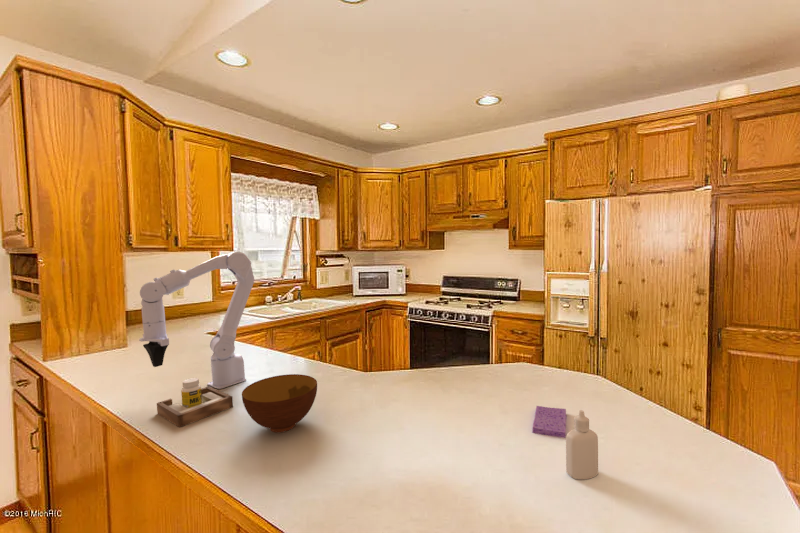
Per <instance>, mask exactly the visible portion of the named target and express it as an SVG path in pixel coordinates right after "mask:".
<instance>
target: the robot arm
mask: <svg viewBox="0 0 800 533" xmlns="http://www.w3.org/2000/svg"><path fill="white" fill-rule="evenodd" d="M215 270H228V271H230V272H231V273H232V274H233V276H234V278H235V280H236V282H237V283H236V285H235V288H234V290H233V294H232V296H231V299H230V302H229V305H228V306H227V310H226V312H225V315H224V318H223V320H222V323H221V326H219V329H218V330H217V332H216V334H215V336H214V337H213V338H212V339H211V340H210V344H209V347H210V350H211V351H212V355H211V356H210V366H211V377H212V378H211V380H212V381H211V382H207V384H206V385H207V386H209V387H211V388H214V389H216V390H222V389H225V388H227V387H230V386H233V385H235V384H240V383H243V382H245V381H247V378H246V375H245V361H244V360H245V359H244V358H243V355H241V354H240V353H235V351H236V350H235V349H236V347H235V343H236V342H235V340H236V338H237V330H238V328H239V324H240V322H241V319H242V316H243V313H244V310H245V307H246V305H247V303H248V300H249V297H250V294H251V291H252V289H253V285H254V283H255V276H254V271H253V268H252V262H251V260H250V258H249V257H248V256H247V255H246V254H245V253H243V251H242V252H241V251H230V252H228V253H226V254H220V255H216V256H214V257H211V258H210V259H207V260H205V261H203V262H202V263H200V264H197V265H195V266H193V267H192V268H189V269H187V270H182V269H176V270H175V269H174V268H173V269H171V270H170V271H169V272H170V273H167V274H164V275H163V276H161V277H154V278H153V281H149V282H145V283H144V284H143V285H142V286H141V287H140V290H139V296H140V298H141V299H142V300H141V303H140V304H141V306H142V307H141V318H142V319H141V320H142V329H143V330H142V331H143V334H142V337H141V338H140V337H139V342H140V343H141V342H148V343H143V346H142V347H143V348H144V349H145V350H146V352H147V354H148V357H149V359H150V362H151V365H152V367H154V368H156V367H157V368H158V367H161V366H163V365H164V364H163V363H164V358H165V353H166V350H167V348H168V347H169V345H170V338H169V337H168V334H167V326H166V325H167V324H166V314H165V313H166V312H165V305H164V304H163V303H164V300H163V297H164V295H166V296H169V295H171V294H173V293H175V292H177V291H179V290H182V289H185V288H186V287H188V286H189V285H190V282H191V281H192V280H194V279H195V278H198V277H200V276H203V275H205V274H207V273H210V272H212V271H215Z"/></svg>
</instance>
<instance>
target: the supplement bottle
mask: <svg viewBox="0 0 800 533" xmlns="http://www.w3.org/2000/svg"><path fill="white" fill-rule="evenodd" d="M201 389H202V387H201V385H200V380H199V377H191V378H188V379H187V378H186V379H184V380H182V388H181V391H180V393H181V405H182V406H184V407H186V408H191V407H194V406H197V405H200V404H202V400H201Z"/></svg>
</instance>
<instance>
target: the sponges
mask: <svg viewBox="0 0 800 533" xmlns="http://www.w3.org/2000/svg"><path fill="white" fill-rule="evenodd" d="M534 414H535V415H534V420H533V424H532V432H531V433H533V434H538V435H544V436H545V435H546V436H551V437H558V438H564V439H566V436H567V434H566V432H567V431H566V430H567V429H566V428H567V427H566V426H567V409H566V408H559V407H547V406H542V405H541V406H540V405H536V408H535V413H534Z"/></svg>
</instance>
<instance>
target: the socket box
mask: <svg viewBox="0 0 800 533" xmlns="http://www.w3.org/2000/svg"><path fill="white" fill-rule="evenodd" d="M201 400H202V404H200V405H197V406H194V407H191V408H186V407H184V406H182V404H180V403H178V402H177V403H174V404H173V398H168V399H166V400H161V401H158V402H157V403H156V412H157V415H159V416H160V417H162V418H164V419H165V420H167V421H169V422H170V423H172V424H174V425H175V426H177V427H178V428H181V427H184V426H186V425H190V424H192V423H194V422H197V421H200V420H202V419H205V418H207V417H211V416H213V415H215V414H218V413H221V412H223V411H226V410H228V409H230V408H233V407H234V405H233V403H234V402H233V401H234V400H233V396H232V395H230V394H228V393H226V392H224V391H223V392H222V391H221V390H219V389H217V388H214V387H212V386H209V385H207V386H206V387H205V386H204V387H203V388H202V387H201Z"/></svg>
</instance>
